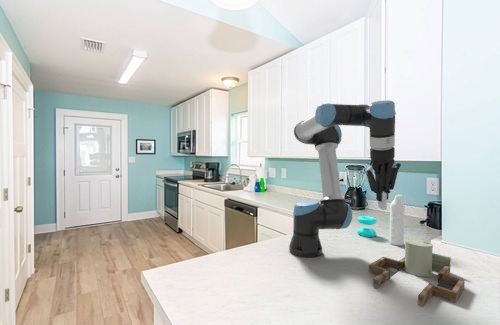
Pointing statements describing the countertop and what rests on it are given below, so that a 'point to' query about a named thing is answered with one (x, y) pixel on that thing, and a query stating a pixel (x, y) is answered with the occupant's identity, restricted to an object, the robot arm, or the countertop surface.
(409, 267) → the can
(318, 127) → the robot arm
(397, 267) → the channel
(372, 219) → the donuts
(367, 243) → the countertop surface
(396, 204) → the white bottle
